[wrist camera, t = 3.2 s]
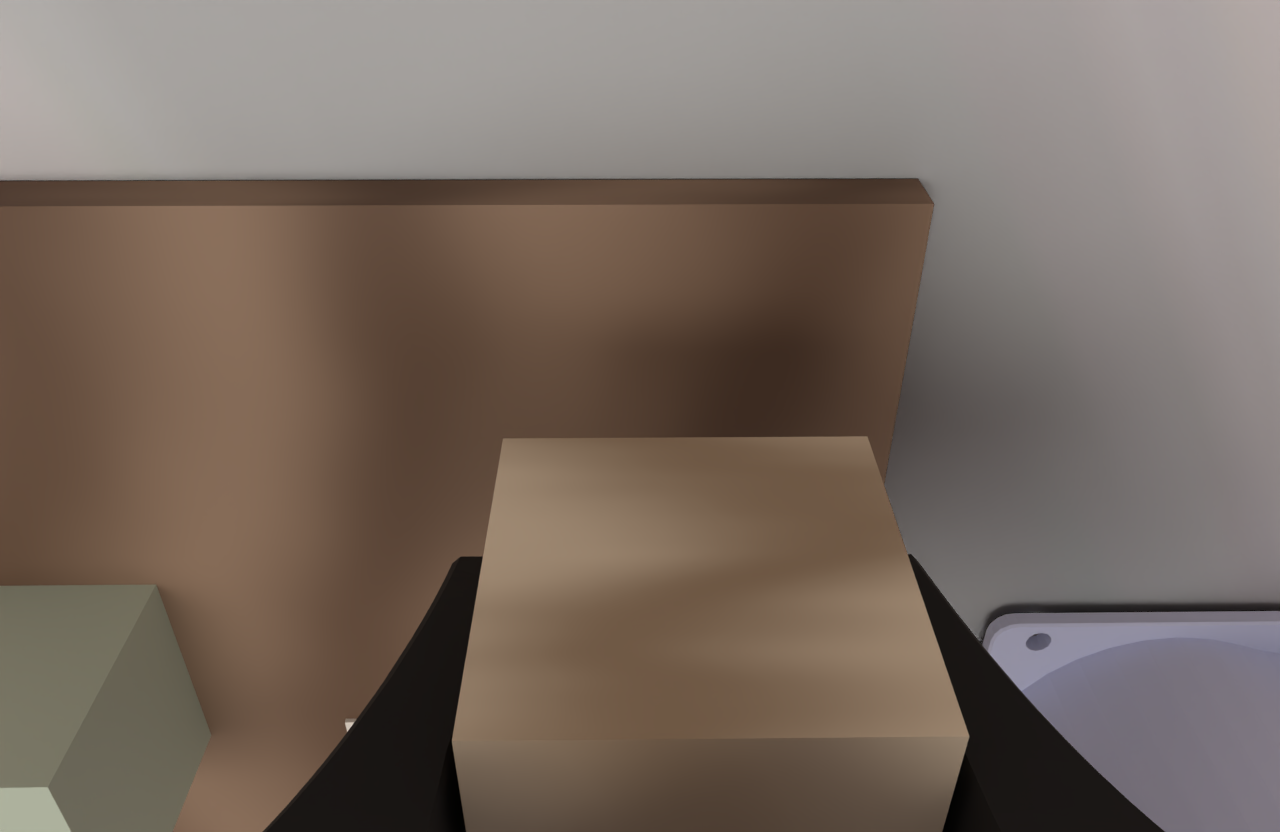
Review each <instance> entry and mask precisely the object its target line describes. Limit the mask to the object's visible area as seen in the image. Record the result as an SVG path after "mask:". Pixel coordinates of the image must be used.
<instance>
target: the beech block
mask: <svg viewBox="0 0 1280 832" xmlns="http://www.w3.org/2000/svg"><path fill="white" fill-rule="evenodd" d="M968 740H969V734H968V731H967V728H966V725H965V722H964V719H963V716H962V713H961V710H960V707H959V704H958V701H957V698H956V695H955V693H954V690H953V687H952V684H951V681H950V678H949V675H948V672H947V669H946V666H945V663H944V660H943V657H942V654H941V651H940V648H939V645H938V643H937V640H936V637H935V634H934V631H933V628H932V625H931V622H930V619H929V616H928V613H927V610H926V607H925V604H924V601H923V598H922V595H921V593H920V590H919V587H918V584H917V581H916V578H915V575H914V572H913V569H912V566H911V563H910V560H909V557H908V554H907V551H906V548H905V545H904V542H903V540H902V537H901V534H900V531H899V528H898V525H897V522H896V519H895V516H894V513H893V510H892V507H891V504H890V501H889V498H888V495H887V492H886V490H885V487H884V484H883V481H882V478H881V475H880V472H879V469H878V466H877V463H876V460H875V457H874V454H873V451H872V448H871V445H870V442H869V440H868V437H867V436H850V437H677V438H505V439H503V442H502V447H501V453H500V459H499V465H498V471H497V477H496V483H495V489H494V495H493V501H492V506H491V512H490V518H489V524H488V530H487V536H486V542H485V548H484V554H483V560H482V565H481V571H480V577H479V583H478V589H477V595H476V601H475V607H474V613H473V619H472V624H471V630H470V636H469V642H468V648H467V654H466V660H465V666H464V672H463V678H462V683H461V689H460V695H459V701H458V707H457V713H456V719H455V725H454V731H453V737H452V746H453V752H454V759H455V765H456V771H457V778H458V784H459V790H460V796H461V803H462V809H463V815H464V822H465V828H466V832H942V831H943V827H944V824H945V820H946V817H947V813H948V810H949V806H950V803H951V799H952V796H953V792H954V789H955V785H956V782H957V778H958V775H959V771H960V768H961V764H962V761H963V757H964V754H965V750H966V747H967V743H968Z"/></svg>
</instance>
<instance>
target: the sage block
mask: <svg viewBox="0 0 1280 832" xmlns="http://www.w3.org/2000/svg"><path fill="white" fill-rule="evenodd" d="M210 737H211V733H210V730H209V727H208V725H207V722H206V719H205V716H204V714H203V711H202V708H201V706H200V703H199V700H198V697H197V695H196V692H195V689H194V686H193V684H192V681H191V678H190V675H189V673H188V670H187V667H186V665H185V662H184V659H183V656H182V654H181V651H180V648H179V645H178V643H177V640H176V637H175V635H174V632H173V629H172V626H171V624H170V621H169V618H168V615H167V613H166V610H165V607H164V604H163V602H162V599H161V596H160V594H159V591H158V588H157V585H38V586H0V832H173V829H174V827H175V824H176V822H177V819H178V817H179V814H180V812H181V809H182V807H183V804H184V802H185V799H186V797H187V794H188V792H189V789H190V787H191V784H192V782H193V780H194V777H195V775H196V772H197V770H198V767H199V765H200V762H201V760H202V757H203V755H204V752H205V750H206V747H207V745H208V742H209V740H210Z"/></svg>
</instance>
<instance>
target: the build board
mask: <svg viewBox="0 0 1280 832" xmlns="http://www.w3.org/2000/svg"><path fill="white" fill-rule="evenodd" d="M933 207H934V203H933V201H932V200H931V198H930V197H929V195H928V194H927V192H926V190H925V189H924V187H923V186H922V184H921V183H920V181H919V179H707V180H302V181H0V586H38V585H157V588H158V591H159V594H160V596H161V599H162V602H163V604H164V607H165V610H166V613H167V615H168V618H169V621H170V624H171V626H172V629H173V632H174V635H175V637H176V640H177V643H178V645H179V648H180V651H181V654H182V656H183V659H184V662H185V665H186V667H187V670H188V673H189V675H190V678H191V681H192V684H193V686H194V689H195V692H196V695H197V697H198V700H199V703H200V706H201V708H202V711H203V714H204V716H205V719H206V722H207V725H208V727H209V730H210V733H211V737H210V740H209V742H208V745H207V747H206V750H205V752H204V755H203V757H202V760H201V762H200V765H199V767H198V770H197V772H196V775H195V777H194V780H193V782H192V784H191V787H190V789H189V792H188V794H187V797H186V799H185V802H184V804H183V807H182V809H181V812H180V814H179V817H178V819H177V822H176V824H175V827H174V829H173V832H263V831H264V830H265V829H266V827H267V826H268V825H269V824H270V823H271V822H272V821H273V820H274V819H275V818H276V817H277V816H278V815H279V814H280V813H281V811H282V810H283V809H284V808H285V807H286V806H287V805H288V804H289V803H290V801H291V800H292V799H293V798H294V797H295V796H296V795H297V793H298V792H299V791H300V790H301V789H302V788H303V786H304V785H305V784H306V783H307V782H308V781H309V779H310V778H311V777H312V776H313V775H314V773H315V772H316V771H317V770H318V769H319V767H320V766H321V765H322V764H323V763H324V761H325V760H326V759H327V757H328V756H329V755H330V754H331V752H332V751H333V750H334V749H335V747H336V746H337V745H338V744H339V742H340V741H341V740H342V738H343V737H344V736H345V734H346V733H347V732H348V730H349V729H350V728H351V726H352V725H353V723H354V722H355V721H356V719H357V718H358V717H359V715H360V714H361V712H362V711H363V710H364V708H365V707H366V706H367V704H368V703H369V701H370V700H371V699H372V697H373V696H374V695H375V693H376V692H377V690H378V689H379V687H380V686H381V685H382V683H383V682H384V680H385V679H386V677H387V676H388V674H389V672H390V671H391V669H392V668H393V666H394V665H395V663H396V662H397V660H398V658H399V657H400V655H401V654H402V652H403V651H404V649H405V648H406V646H407V644H408V643H409V641H410V640H411V638H412V637H413V635H414V633H415V632H416V630H417V628H418V626H419V625H420V623H421V621H422V620H423V618H424V616H425V615H426V613H427V611H428V609H429V608H430V606H431V604H432V602H433V600H434V599H435V597H436V595H437V593H438V591H439V589H440V587H441V585H442V583H443V582H444V580H445V578H446V576H447V573H448V571H449V569H450V567H451V565H452V563H453V562H454V561H456V560H457V559H458V558H459V557H461V556H483V554H484V548H485V542H486V536H487V530H488V524H489V518H490V512H491V506H492V501H493V495H494V489H495V483H496V477H497V471H498V465H499V459H500V453H501V447H502V442H503V439H505V438H677V437H850V436H867V437H868V440H869V442H870V445H871V448H872V451H873V454H874V457H875V460H876V463H877V466H878V469H879V472H880V475H881V478H882V481H883V484H884V482H885V477H886V471H887V465H888V460H889V454H890V449H891V443H892V437H893V432H894V426H895V420H896V415H897V409H898V404H899V398H900V392H901V387H902V381H903V376H904V370H905V364H906V359H907V353H908V347H909V342H910V336H911V331H912V325H913V319H914V314H915V308H916V303H917V297H918V291H919V286H920V280H921V274H922V269H923V263H924V258H925V252H926V246H927V241H928V235H929V229H930V224H931V218H932V213H933Z"/></svg>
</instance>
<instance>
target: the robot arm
mask: <svg viewBox="0 0 1280 832" xmlns="http://www.w3.org/2000/svg"><path fill="white" fill-rule="evenodd" d="M908 557H909V560H910V563H911V566H912V569H913V572H914V575H915V578H916V581H917V584H918V587H919V590H920V593H921V595H922V598H923V601H924V604H925V607H926V610H927V613H928V616H929V619H930V622H931V625H932V628H933V631H934V634H935V637H936V640H937V643H938V645H939V648H940V651H941V654H942V657H943V660H944V663H945V666H946V669H947V672H948V675H949V678H950V681H951V684H952V687H953V690H954V693H955V695H956V698H957V701H958V704H959V707H960V710H961V713H962V716H963V719H964V722H965V725H966V728H967V731H968V734H969V740H968V743H967V747H966V750H965V754H964V757H963V761H962V764H961V768H960V771H959V775H958V778H957V782H956V785H955V789H954V792H953V796H952V799H951V803H950V806H949V810H948V813H947V817H946V820H945V824H944V827H943V831H942V832H1280V611H1216V612H1101V613H1012V614H1005V615H1003V616H1000V617H998V618H996V619H995V620H994V621H993V622H992V623H990V625H989V627H988V628H987V630H986V634H985V637H984V641H983V644H981V643H980V642H979V641H978V639H977V638H976V637H975V636H974V634H973V633H972V632H971V631H970V629H969V628H968V627H967V625H966V624H965V623H964V622H963V620H962V619H961V618H960V617H959V615H958V614H957V613H956V611H955V610H954V609H953V608H952V606H951V605H950V604H949V602H948V601H947V600H946V598H945V597H944V596H943V594H942V593H941V592H940V590H939V589H938V588H937V586H936V585H935V584H934V582H933V581H932V580H931V578H930V577H929V576H928V574H927V573H926V572H925V570H924V569H923V568H922V566H921V565H920V563H919V562H918V561H917V560H916V559H915V558H914V557H913V556H912V555H911V554H908ZM482 560H483V556H461V557H459V558H458V559H457V560H456V561H454V562H453V563H452V565H451V567H450V569H449V571H448V573H447V576H446V578H445V580H444V582H443V583H442V585H441V587H440V589H439V591H438V593H437V595H436V597H435V599H434V600H433V602H432V604H431V606H430V608H429V609H428V611H427V613H426V615H425V616H424V618H423V620H422V621H421V623H420V625H419V626H418V628H417V630H416V632H415V633H414V635H413V637H412V638H411V640H410V641H409V643H408V644H407V646H406V648H405V649H404V651H403V652H402V654H401V655H400V657H399V658H398V660H397V662H396V663H395V665H394V666H393V668H392V669H391V671H390V672H389V674H388V676H387V677H386V679H385V680H384V682H383V683H382V685H381V686H380V687H379V689H378V690H377V692H376V693H375V695H374V696H373V697H372V699H371V700H370V701H369V703H368V704H367V706H366V707H365V708H364V710H363V711H362V712H361V714H360V715H359V717H358V718H357V719H356V721H355V722H354V723H353V725H352V726H351V728H350V729H349V730H348V732H347V733H346V734H345V736H344V737H343V738H342V740H341V741H340V742H339V744H338V745H337V746H336V747H335V749H334V750H333V751H332V752H331V754H330V755H329V756H328V757H327V759H326V760H325V761H324V763H323V764H322V765H321V766H320V767H319V769H318V770H317V771H316V772H315V773H314V775H313V776H312V777H311V778H310V779H309V781H308V782H307V783H306V784H305V785H304V786H303V788H302V789H301V790H300V791H299V792H298V793H297V795H296V796H295V797H294V798H293V799H292V800H291V801H290V803H289V804H288V805H287V806H286V807H285V808H284V809H283V810H282V811H281V813H280V814H279V815H278V816H277V817H276V818H275V819H274V820H273V821H272V822H271V823H270V824H269V825H268V826H267V827H266V829H265V830H264V831H263V832H466V828H465V822H464V815H463V809H462V803H461V796H460V790H459V784H458V778H457V771H456V765H455V759H454V752H453V746H452V737H453V731H454V725H455V719H456V713H457V707H458V701H459V695H460V689H461V683H462V678H463V672H464V666H465V660H466V654H467V648H468V642H469V636H470V630H471V624H472V619H473V613H474V607H475V601H476V595H477V589H478V583H479V577H480V571H481V565H482ZM1039 633H1040V634H1039ZM1034 634H1038V635H1036V636H1033V635H1034Z"/></svg>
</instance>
